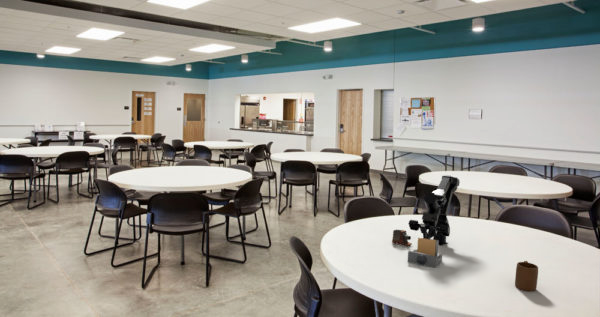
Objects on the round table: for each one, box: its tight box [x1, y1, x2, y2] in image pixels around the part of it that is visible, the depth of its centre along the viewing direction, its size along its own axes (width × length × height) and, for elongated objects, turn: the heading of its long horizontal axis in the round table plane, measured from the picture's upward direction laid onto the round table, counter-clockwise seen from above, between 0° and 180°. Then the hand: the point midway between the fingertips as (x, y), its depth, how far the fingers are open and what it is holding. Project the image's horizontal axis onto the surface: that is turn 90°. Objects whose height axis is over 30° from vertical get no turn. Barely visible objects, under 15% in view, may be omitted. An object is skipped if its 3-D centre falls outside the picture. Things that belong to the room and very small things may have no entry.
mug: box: [514, 260, 539, 292], centre depth 164 cm, size 12×8×9 cm, turn 156°
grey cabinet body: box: [407, 248, 443, 269], centre depth 188 cm, size 12×13×5 cm
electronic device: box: [391, 229, 413, 248], centre depth 212 cm, size 4×10×8 cm, turn 44°
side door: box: [417, 237, 439, 257], centre depth 192 cm, size 2×9×9 cm, turn 70°
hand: (424, 243), depth 192 cm, fingers closed, pressing on side door
